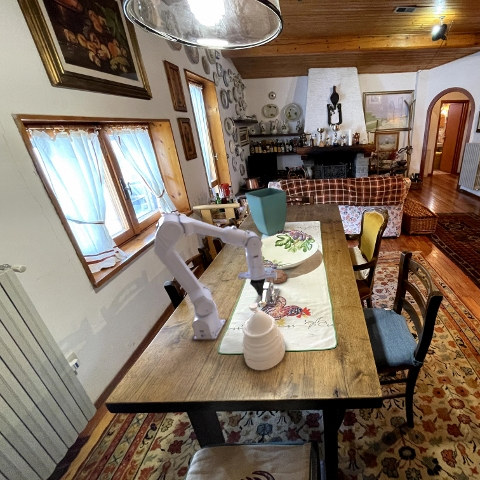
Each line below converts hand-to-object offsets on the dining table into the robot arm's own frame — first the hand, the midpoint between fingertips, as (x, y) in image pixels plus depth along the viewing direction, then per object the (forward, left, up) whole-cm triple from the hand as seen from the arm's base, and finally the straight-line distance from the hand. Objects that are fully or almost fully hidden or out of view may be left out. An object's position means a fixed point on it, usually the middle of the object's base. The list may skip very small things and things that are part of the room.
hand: (260, 294), depth 99 cm
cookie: (+23, -1, -8) cm, 24 cm away
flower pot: (+84, +16, -8) cm, 85 cm away
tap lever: (+4, 0, -5) cm, 6 cm away
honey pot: (-21, -6, -8) cm, 24 cm away
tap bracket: (+8, 0, -7) cm, 11 cm away
